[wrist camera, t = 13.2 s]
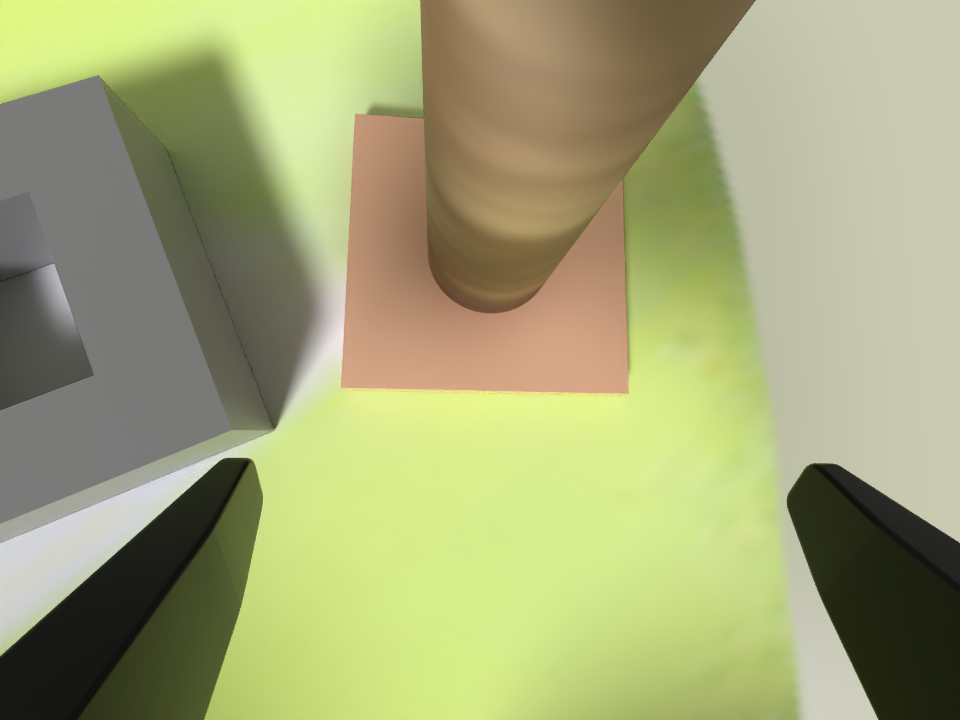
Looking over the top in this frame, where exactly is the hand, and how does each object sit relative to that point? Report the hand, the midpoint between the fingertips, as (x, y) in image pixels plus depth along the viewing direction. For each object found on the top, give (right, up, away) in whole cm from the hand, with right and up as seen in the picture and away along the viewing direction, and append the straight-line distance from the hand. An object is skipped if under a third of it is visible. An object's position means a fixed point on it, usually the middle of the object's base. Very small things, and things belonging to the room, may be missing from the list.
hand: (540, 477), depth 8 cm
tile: (-1, +5, +9) cm, 11 cm away
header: (-14, +2, +7) cm, 16 cm away
